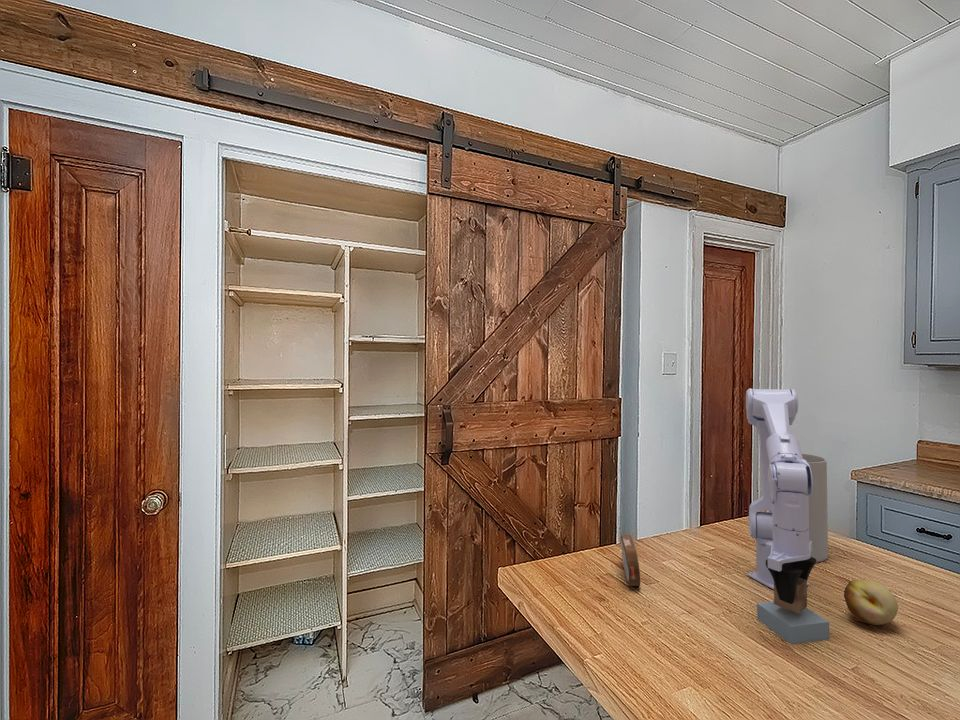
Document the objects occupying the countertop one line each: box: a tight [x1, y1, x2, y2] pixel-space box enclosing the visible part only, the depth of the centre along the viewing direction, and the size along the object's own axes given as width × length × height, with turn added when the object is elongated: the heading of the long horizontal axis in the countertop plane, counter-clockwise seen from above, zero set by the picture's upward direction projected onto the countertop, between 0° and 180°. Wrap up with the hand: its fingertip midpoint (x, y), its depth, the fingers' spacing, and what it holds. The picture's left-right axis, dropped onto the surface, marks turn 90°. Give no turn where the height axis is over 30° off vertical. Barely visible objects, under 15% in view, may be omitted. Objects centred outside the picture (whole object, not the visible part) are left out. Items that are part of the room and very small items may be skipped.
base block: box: [756, 600, 831, 645], centre depth 86 cm, size 8×8×4 cm
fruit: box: [843, 579, 899, 626], centre depth 87 cm, size 8×8×8 cm
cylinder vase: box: [768, 453, 829, 563], centre depth 119 cm, size 12×12×25 cm
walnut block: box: [773, 578, 808, 613], centre depth 86 cm, size 4×4×5 cm
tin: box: [620, 534, 641, 587], centre depth 107 cm, size 15×3×8 cm, turn 168°
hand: (791, 597), depth 86 cm, fingers closed on walnut block, 4 cm apart
